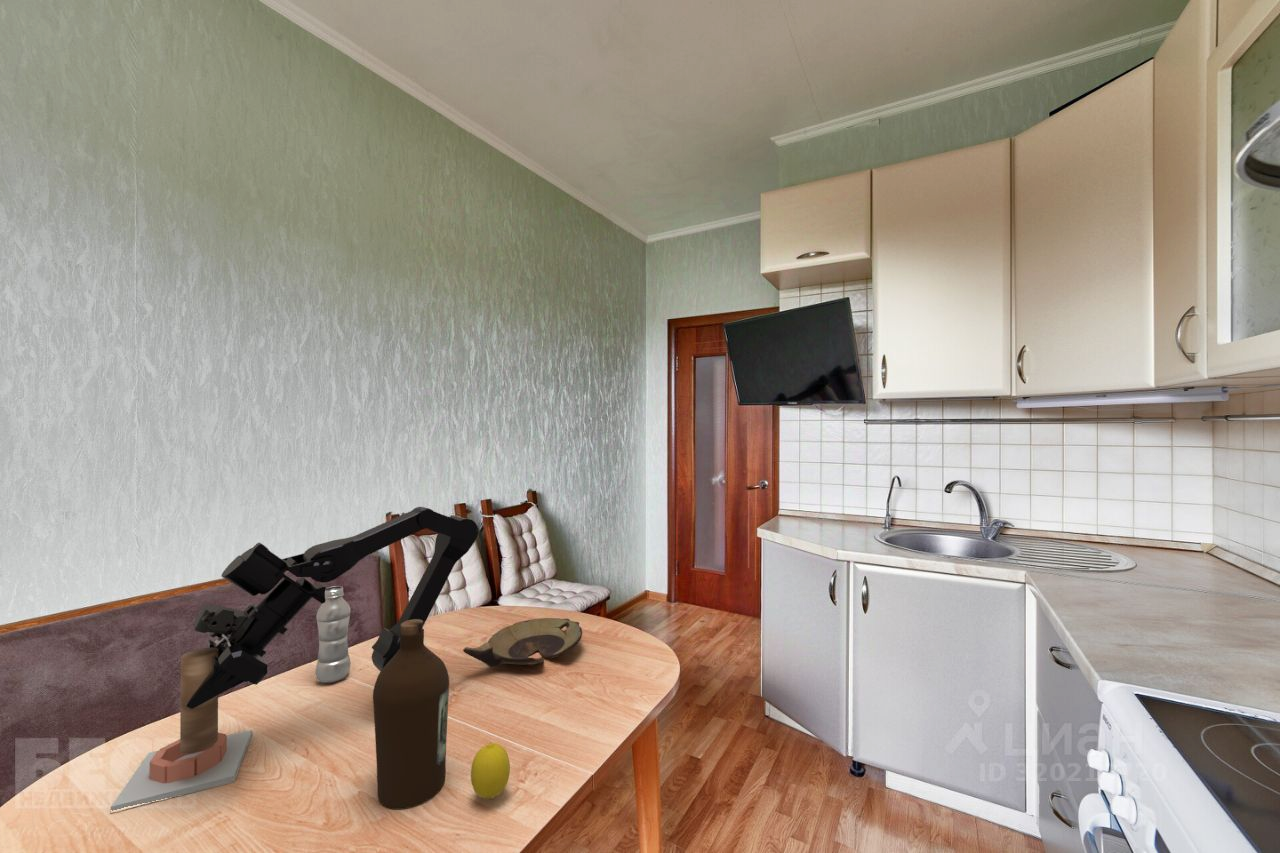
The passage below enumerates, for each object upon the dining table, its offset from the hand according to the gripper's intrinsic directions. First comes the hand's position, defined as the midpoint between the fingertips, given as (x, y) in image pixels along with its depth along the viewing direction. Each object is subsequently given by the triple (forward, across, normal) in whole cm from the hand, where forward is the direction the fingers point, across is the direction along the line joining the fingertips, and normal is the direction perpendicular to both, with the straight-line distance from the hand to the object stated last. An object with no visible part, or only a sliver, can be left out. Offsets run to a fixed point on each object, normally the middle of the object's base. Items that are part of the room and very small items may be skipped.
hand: (187, 701), depth 78 cm
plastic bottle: (-8, -24, +27) cm, 37 cm away
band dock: (+9, -6, +10) cm, 14 cm away
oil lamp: (-34, -4, +53) cm, 63 cm away
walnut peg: (+4, 0, +6) cm, 7 cm away
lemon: (-13, +34, +32) cm, 49 cm away
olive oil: (-8, +24, +27) cm, 37 cm away
